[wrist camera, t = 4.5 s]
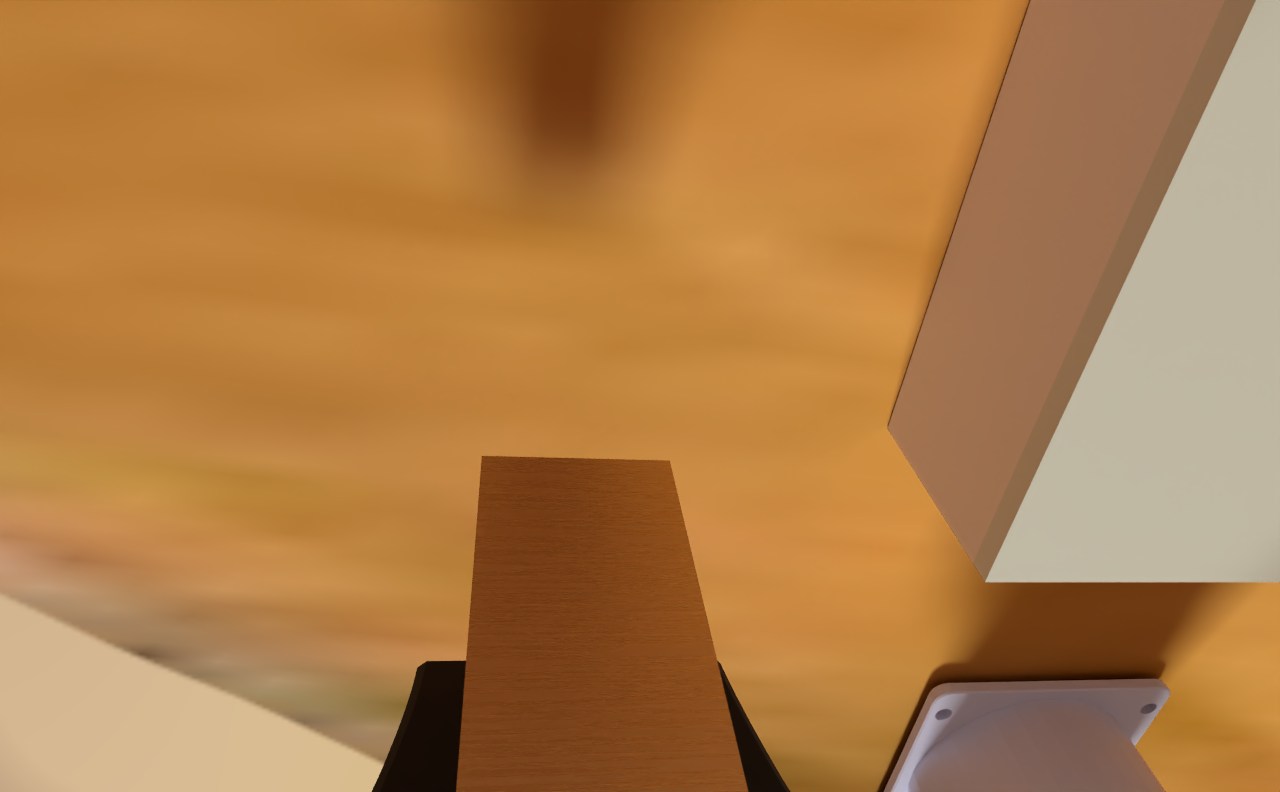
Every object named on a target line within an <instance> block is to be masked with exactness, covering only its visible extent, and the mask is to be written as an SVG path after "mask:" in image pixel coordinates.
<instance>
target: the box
mask: <svg viewBox="0 0 1280 792" xmlns="http://www.w3.org/2000/svg"><path fill="white" fill-rule="evenodd" d="M888 430H889V432H890V434H891V435H892V437H893V438H894V440H895V441H896V443H897V445H898V446H899V448H900V449H901V451H902V452H903V454H904V456H905V457H906V459H907V460H908V462H909V463H910V465H911V467H912V468H913V470H914V471H915V473H916V474H917V476H918V478H919V479H920V481H921V482H922V484H923V486H924V487H925V489H926V490H927V492H928V493H929V495H930V497H931V498H932V500H933V501H934V503H935V504H936V506H937V508H938V509H939V511H940V512H941V514H942V515H943V517H944V519H945V520H946V522H947V523H948V525H949V526H950V528H951V530H952V531H953V533H954V534H955V536H956V537H957V539H958V541H959V542H960V544H961V545H962V547H963V549H964V550H965V552H966V553H967V555H968V556H969V558H970V560H971V561H972V563H973V564H974V566H975V567H976V569H977V571H978V572H979V574H980V575H981V577H982V578H983V580H984V582H1280V0H1031V1H1030V4H1029V7H1028V10H1027V13H1026V16H1025V19H1024V22H1023V25H1022V28H1021V30H1020V33H1019V36H1018V39H1017V42H1016V45H1015V48H1014V51H1013V54H1012V57H1011V60H1010V63H1009V66H1008V69H1007V72H1006V75H1005V78H1004V81H1003V84H1002V87H1001V90H1000V93H999V96H998V99H997V102H996V105H995V108H994V111H993V114H992V117H991V120H990V123H989V126H988V129H987V132H986V135H985V138H984V141H983V144H982V147H981V150H980V153H979V156H978V159H977V162H976V165H975V168H974V171H973V174H972V177H971V180H970V183H969V186H968V189H967V192H966V195H965V198H964V201H963V204H962V207H961V210H960V213H959V216H958V219H957V222H956V225H955V228H954V231H953V234H952V237H951V240H950V243H949V246H948V249H947V252H946V255H945V258H944V261H943V264H942V267H941V270H940V273H939V276H938V279H937V282H936V285H935V288H934V291H933V294H932V297H931V300H930V303H929V306H928V309H927V312H926V315H925V318H924V321H923V324H922V327H921V330H920V333H919V336H918V339H917V342H916V345H915V348H914V351H913V354H912V357H911V360H910V363H909V366H908V369H907V372H906V375H905V378H904V381H903V384H902V387H901V390H900V393H899V396H898V399H897V402H896V405H895V408H894V411H893V414H892V417H891V420H890V423H889V426H888Z"/></svg>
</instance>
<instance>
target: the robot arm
mask: <svg viewBox="0 0 1280 792" xmlns="http://www.w3.org/2000/svg"><path fill="white" fill-rule="evenodd" d="M717 662H718V661H717ZM718 666H719V670H720V675H721V679H722V683H723V687H724V691H725V696H726V700H727V704H728V708H729V712H730V717H731V721H732V725H733V729H734V733H735V738H736V742H737V746H738V750H739V754H740V759H741V763H742V767H743V771H744V775H745V780H746V784H747V788H748V792H790V790H789V789H788V787H787V786H786V784H785V782H784V781H783V779H782V777H781V776H780V774H779V772H778V771H777V769H776V767H775V766H774V764H773V762H772V760H771V759H770V757H769V755H768V753H767V752H766V750H765V748H764V746H763V745H762V743H761V741H760V739H759V737H758V736H757V734H756V732H755V730H754V728H753V727H752V725H751V723H750V721H749V719H748V717H747V716H746V714H745V712H744V710H743V708H742V706H741V704H740V702H739V700H738V698H737V697H736V695H735V693H734V691H733V689H732V687H731V685H730V683H729V681H728V679H727V677H726V674H725V672H724V670H723V668H722V666H721V664H720V663H719V662H718ZM465 669H466V661H426V662H425V663H424V664H422V665H421V666H419V667H418V668H417V672H416V676H415V680H414V683H413V687H412V691H411V694H410V697H409V700H408V703H407V706H406V709H405V712H404V715H403V718H402V720H401V723H400V726H399V728H398V731H397V734H396V736H395V739H394V741H393V744H392V746H391V749H390V751H389V753H388V756H387V758H386V761H385V763H384V766H383V768H382V770H381V773H380V775H379V778H378V779H377V782H376V784H375V786H374V788H373V790H372V792H456V787H457V774H458V761H459V748H460V735H461V722H462V708H463V695H464V682H465ZM1169 696H1170V689H1169V688H1168V687H1167V686H1166V684H1165V683H1164V682H1163V681H1162V680H1160V679H1112V680H1064V681H1016V682H969V683H944V684H940V685H938V686H936V687H935V688H933V689H932V690H931V692H930V693H929V695H928V697H927V699H926V701H925V703H924V705H923V708H922V710H921V712H920V714H919V716H918V718H917V721H916V723H915V725H914V727H913V729H912V731H911V734H910V736H909V738H908V740H907V742H906V744H905V747H904V749H903V751H902V753H901V755H900V757H899V760H898V762H897V764H896V766H895V768H894V770H893V773H892V775H891V777H890V779H889V781H888V783H887V786H886V788H885V790H884V792H1166V791H1165V790H1164V789H1163V787H1162V786H1161V784H1160V783H1159V781H1158V780H1157V778H1156V777H1155V775H1154V774H1153V772H1152V771H1151V770H1150V768H1149V767H1148V765H1147V764H1146V762H1145V761H1144V759H1143V758H1142V756H1141V755H1140V754H1139V752H1138V751H1137V749H1136V748H1135V745H1136V744H1137V742H1138V741H1139V739H1140V738H1141V737H1142V735H1143V734H1144V732H1145V731H1146V729H1147V728H1148V727H1149V725H1150V724H1151V722H1152V721H1153V719H1154V718H1155V717H1156V715H1157V714H1158V712H1159V711H1160V709H1161V708H1162V707H1163V705H1164V704H1165V702H1166V701H1167V699H1168V698H1169Z"/></svg>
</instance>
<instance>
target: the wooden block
mask: <svg viewBox="0 0 1280 792" xmlns="http://www.w3.org/2000/svg"><path fill="white" fill-rule="evenodd" d="M456 792H748V788H747V784H746V780H745V775H744V771H743V767H742V763H741V759H740V754H739V750H738V746H737V742H736V738H735V733H734V729H733V725H732V721H731V717H730V712H729V708H728V704H727V700H726V696H725V691H724V687H723V683H722V679H721V675H720V670H719V666H718V662H717V658H716V653H715V649H714V645H713V641H712V637H711V632H710V628H709V624H708V620H707V616H706V611H705V607H704V603H703V599H702V595H701V590H700V586H699V582H698V578H697V574H696V569H695V565H694V561H693V557H692V553H691V548H690V544H689V540H688V536H687V532H686V527H685V523H684V519H683V515H682V510H681V506H680V502H679V498H678V494H677V489H676V485H675V481H674V477H673V473H672V468H671V464H670V461H663V460H624V459H585V458H545V457H506V456H482V461H481V474H480V487H479V500H478V513H477V526H476V539H475V552H474V565H473V578H472V591H471V604H470V617H469V630H468V643H467V656H466V669H465V682H464V695H463V708H462V722H461V735H460V748H459V761H458V774H457V787H456Z"/></svg>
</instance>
